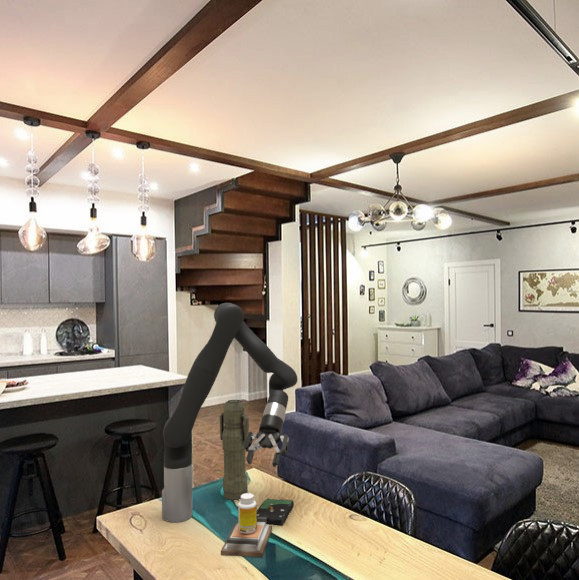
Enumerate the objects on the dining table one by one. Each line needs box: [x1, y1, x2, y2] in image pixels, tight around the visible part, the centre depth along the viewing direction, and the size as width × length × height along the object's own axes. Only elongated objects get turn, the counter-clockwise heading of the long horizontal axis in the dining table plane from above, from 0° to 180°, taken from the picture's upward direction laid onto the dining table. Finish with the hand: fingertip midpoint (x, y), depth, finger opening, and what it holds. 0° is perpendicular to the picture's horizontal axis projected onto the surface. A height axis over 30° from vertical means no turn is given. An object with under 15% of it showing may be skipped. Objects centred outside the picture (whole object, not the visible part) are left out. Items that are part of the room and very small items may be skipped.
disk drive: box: [257, 497, 295, 527], centre depth 156 cm, size 10×3×15 cm
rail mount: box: [220, 517, 273, 558], centre depth 138 cm, size 12×16×4 cm
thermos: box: [219, 399, 250, 502], centre depth 172 cm, size 9×12×35 cm
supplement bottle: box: [237, 492, 258, 534], centre depth 139 cm, size 6×6×10 cm
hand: (261, 464), depth 147 cm, fingers open, 8 cm apart
